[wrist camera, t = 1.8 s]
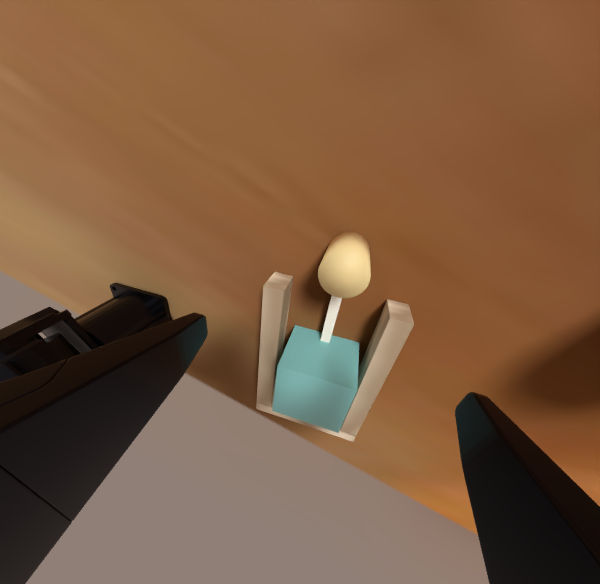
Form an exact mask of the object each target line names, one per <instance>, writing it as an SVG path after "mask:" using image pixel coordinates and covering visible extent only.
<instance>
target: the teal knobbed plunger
mask: <svg viewBox="0 0 600 584" xmlns="http://www.w3.org/2000/svg"><path fill="white" fill-rule="evenodd" d="M370 276H371V275H370V248H369V244H368V242H367V241H366V239H365V238H364V237H363V236H361V235H360V234H358V233H355V232H343V233H340V234H338V235H336V236H335V237H334V238H333V239H332V240H331V242H330V244H329V246H328V248H327V250H326V253H325V255H324V257H323V259H322V262H321V264H320V266H319V269H318V279H319V282H320V284H321V286H322V288H323V289H324V290H325V291H326V292H328V293H329V294H331V295H332V296H331V300H330V304H329V308H328V312H327V316H326V320H325V324H324V328H323V332H319V331H315V330H311V329H308V328H304V327H301V326H297V325H295V327H294V329H293V331H292V334H291V336H290V338H289V341H288V343H287V345H286V348H285V350H284V352H283V355H282V357H281V359H280V361H279V364H278V367H277V375H276V383H275V391H274V399H273V407H272V411H274V412H277V413H280V414H283V415H286V416H289V417H292V418H295V419H298V420H301V421H304V422H307V423H310V424H313V425H316V426H319V427H322V428H325V429H328V430H331V431H334V432H337V433H339V431H340V429H341V426H342V424H343V422H344V419H345V417H346V415H347V413H348V410H349V408H350V406H351V404H352V401H353V399H354V397H355V395H356V392H357V388H358V363H359V342H355V341H351V340H348V339H344V338H341V337H337V336H333V335H332V331H333V328H334V324H335V321H336V317H337V314H338V310H339V307H340V303H341V299H342V298H351V297H355V296H357V295H359V294H361V293H362V292H363V291H364V290H365V289H366V288H367V286H368V284H369V282H370Z"/></svg>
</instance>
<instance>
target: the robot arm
mask: <svg viewBox="0 0 600 584" xmlns="http://www.w3.org/2000/svg"><path fill="white" fill-rule="evenodd" d="M110 288H111V291H112V294H113V297H114V298H112V299H110V300H108V301H106V302H105V303H103V304H101V305H99V306H97V307H95V308H94V309H92V310H90V311H88V312H86V313H84V314H82V315H81V316H79V317H77V318H75V319H74V318H73V317H72V316H71V313H70V312H69V311H68V310H65V311H62V312H59V311H57V310H54V309H53V308H51V307H48V308H46V309H43V310H41V311H39V312H37V313H35V314H33V315H30V316H28V317H26V318H24V319H22V320H20V321H17V322H16V323H13V324H11V325H9V326H7V327H5V328H3V329H1V330H0V584H25V583H26V582H27V581H28V579H29V578H30V577H31V576H32V574H33V573H34V572H35V570H36V569H37V568H38V566H39V565H40V564H41V562H42V561H43V560H44V558H45V557H46V556H47V554H48V553H49V552H50V551H51V549H52V548H53V547H54V545H55V544H56V543H57V541H58V540H59V539H60V537H61V536H62V535H63V533H64V532H65V531H66V529H67V528H68V527H69V525H70V524H71V522H72V521H73V520H74V519H75V517H76V516H77V514H78V513H79V512H80V511H81V509H82V508H83V507H84V505H85V504H86V503H87V501H88V500H89V499H90V497H91V496H92V495H93V493H94V492H95V491H96V489H97V488H98V487H99V486H100V484H101V483H102V482H103V480H104V479H105V477H106V476H107V475H108V474H109V472H110V471H111V470H112V468H113V467H114V466H115V464H116V463H117V462H118V461H119V459H120V458H121V457H122V455H123V454H124V453H125V451H126V450H127V449H128V447H129V446H130V445H131V443H132V442H133V441H134V439H135V438H136V437H137V436H138V434H139V433H140V432H141V430H142V429H143V427H144V426H145V425H146V424H147V422H148V421H149V420H150V418H151V417H152V416H153V414H154V413H155V412H156V410H157V409H158V408H159V407H160V405H161V404H162V403H163V401H164V400H165V399H166V397H167V396H168V395H169V393H170V392H171V391H172V389H173V388H174V387H175V385H176V384H177V383H178V382H179V380H180V379H181V377H182V376H183V375H184V373H185V372H186V370H187V369H188V367H189V365H190V364H191V362H192V360H193V359H194V357H195V355H196V354H197V352H198V351H199V349H200V347H201V346H202V344H203V342H204V341H205V339H206V337H207V333H208V331H207V322H206V317H205V316H204V315H202V314H198V313H191V314H189V315H186V316H183V317H180V318H178V319H175V320H172V321H171V319H170V315H169V310H168V305H167V301H166V299H165V297H163V296H161V295H158V294H154V293H151V292H147V291H143V290H140V289H136V288H133V287H129V286H126V285H122V284H118V283H113V284H111V285H110ZM40 332H42V333H43V334H44V335H45V336H46V337H47V338H44V339H43V338H42V337H41V336H40V335H39V334H38V333H40ZM455 416H456V424H457V432H458V439H459V447H460V455H461V461H462V467H463V472H464V477H465V481H466V485H467V490H468V494H469V498H470V502H471V507H472V511H473V515H474V519H475V524H476V528H477V532H478V537H479V540H480V545H481V549H482V554H483V558H484V562H485V566H486V571H487V575H488V579H489V583H490V584H600V507H599V506H598V505H597V504H596V503H595V502H594V501H593V500H592V499H591V498H590V497H589V496H588V495H587V494H586V493H585V492H584V491H583V490H582V489H581V488H580V487H579V486H578V485H577V484H576V483H575V482H574V481H573V480H572V479H571V478H570V477H569V476H568V475H567V474H566V473H565V472H564V471H563V470H562V469H561V468H560V467H559V466H558V465H557V464H556V463H554V462H553V461H552V460H551V459H550V458H549V457H548V456H547V455H546V454H545V453H544V452H543V451H542V450H541V449H540V448H539V447H538V446H537V445H536V444H535V443H534V442H533V441H532V440H531V439H530V438H529V437H528V436H527V435H526V434H525V433H524V432H523V431H522V430H521V429H520V428H519V427H518V426H517V425H516V424H515V423H514V422H513V421H512V420H511V419H510V418H509V417H507V416H506V415H505V414H504V413H503V412H502V411H501V410H500V409H499V408H498V407H497V406H496V405H495V404H494V403H493V402H492V401H491V400H490V399H489V398H488V397H486V396H484V395H481V394H478V393H474V392H470V393H468V394H467V395H466V396H465V397H464V399H463V400H462V401H461V402H460V403H459V404H458V405H457V407H456V410H455Z"/></svg>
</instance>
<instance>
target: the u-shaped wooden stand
mask: <svg viewBox="0 0 600 584" xmlns="http://www.w3.org/2000/svg"><path fill="white" fill-rule="evenodd" d="M292 282H293V276H290V275H286V274H282V273H278V272H274V273H273V275H272V276H271V277H270V278H269V279H268V281H267V282H266V283H265V284H264V286H263V301H262V318H261V335H260V352H259V370H258V387H257V404H256V409H258V410H261V411H264V412H267V413H270V414H273V415H276V416H279V417H282V418H285V419H288V420H291V421H294V422H297V423H299V424H302V425H305V426H308V427H311V428H314V429H317V430H320V431H323V432H326V433H329V434H332V435H335V436H338V437H341V438H344V439H347V440H350V441H353V440H354V438H355V437H356V435H357V433H358V431H359V429H360V427H361V425H362V423H363V421H364V419H365V417H366V416H367V414H368V412H369V410H370V408H371V406H372V404H373V402H374V400H375V398H376V396H377V394H378V393H379V391H380V389H381V387H382V385H383V383H384V381H385V379H386V377H387V375H388V373H389V372H390V370H391V368H392V366H393V364H394V362H395V360H396V358H397V356H398V354H399V352H400V351H401V349H402V347H403V345H404V343H405V341H406V339H407V337H408V335H409V333H410V331H411V330H412V328H413V326H414V321H413V318H412V315H411V311H410V308H409V304H405V303H401V302H397V301H393V300H389V299H387V301H386V303H385V306H384V308H383V311H382V313H381V316H380V318H379V321H378V323H377V325H376V328H375V330H374V333H373V335H372V338H371V340H370V342H369V345H368V347H367V350H366V352H365V355H364V357H363V360H362V362H361V364H360V367H359V369H358V388H357V392H356V395H355V397H354V399H353V401H352V404H351V406H350V408H349V410H348V413H347V415H346V417H345V419H344V422H343V424H342V426H341V429H340V431H339V433H337V432H334V431H331V430H328V429H325V428H322V427H319V426H316V425H313V424H310V423H307V422H304V421H301V420H298V419H295V418H292V417H289V416H286V415H283V414H280V413H277V412H274V411H272V407H273V399H274V391H275V383H276V375H277V367H278V364H279V361H280V359H281V357H282V355H283V348H284V341H285V334H286V326H287V319H288V312H289V304H290V297H291V289H292Z"/></svg>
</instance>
